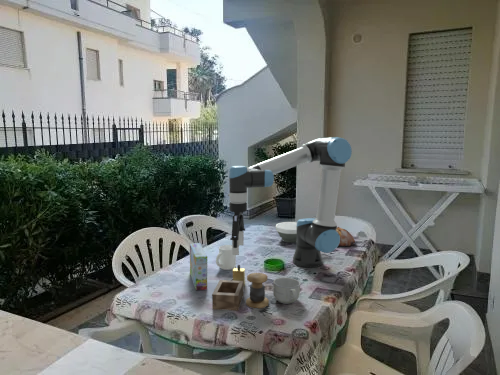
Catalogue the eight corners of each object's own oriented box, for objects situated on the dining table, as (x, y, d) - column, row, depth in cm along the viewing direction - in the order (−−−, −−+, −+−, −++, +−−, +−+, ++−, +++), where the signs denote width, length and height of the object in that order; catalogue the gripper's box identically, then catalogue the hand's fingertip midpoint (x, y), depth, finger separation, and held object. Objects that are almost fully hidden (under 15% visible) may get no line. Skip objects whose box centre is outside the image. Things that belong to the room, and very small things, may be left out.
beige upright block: (245, 283, 163) (244, 264, 162) (244, 286, 160) (243, 266, 159) (234, 283, 164) (233, 263, 162) (232, 285, 161) (232, 266, 160)
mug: (222, 273, 175) (222, 253, 173) (210, 269, 180) (210, 249, 179) (239, 266, 184) (239, 247, 182) (227, 263, 189) (227, 243, 188)
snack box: (208, 289, 157) (208, 256, 155) (195, 291, 155) (194, 257, 153) (201, 272, 177) (200, 242, 175) (189, 273, 176) (188, 243, 173)
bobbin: (269, 298, 148) (269, 272, 146) (267, 309, 139) (267, 281, 137) (247, 297, 149) (247, 271, 147) (244, 307, 140) (244, 280, 139)
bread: (328, 239, 235) (328, 223, 234) (358, 243, 225) (359, 227, 224) (318, 243, 222) (319, 227, 221) (350, 249, 211) (351, 232, 210)
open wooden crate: (243, 294, 152) (243, 280, 151) (238, 310, 138) (238, 295, 137) (220, 293, 153) (219, 279, 152) (212, 309, 139) (212, 294, 138)
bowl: (309, 245, 219) (309, 229, 218) (276, 245, 219) (276, 229, 218) (304, 236, 238) (304, 221, 237) (274, 236, 239) (274, 221, 237)
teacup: (271, 295, 151) (271, 276, 150) (297, 294, 152) (297, 275, 151) (276, 311, 138) (276, 291, 136) (305, 310, 138) (305, 290, 137)
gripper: (234, 196, 169) (234, 241, 172) (223, 207, 145) (224, 258, 148) (250, 197, 168) (250, 241, 171) (242, 207, 144) (242, 259, 147)
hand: (238, 249), depth 160 cm, fingers open, 13 cm apart
